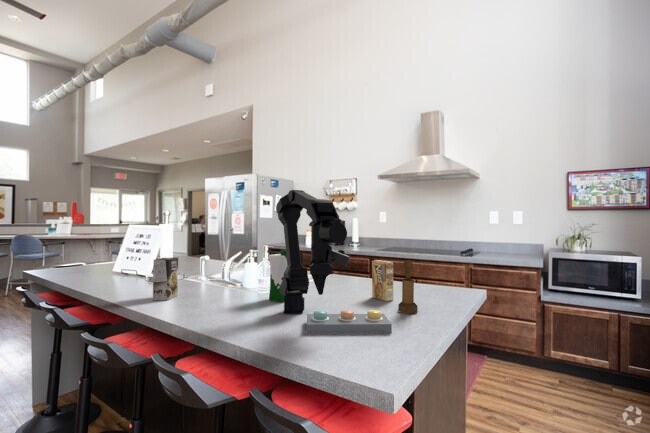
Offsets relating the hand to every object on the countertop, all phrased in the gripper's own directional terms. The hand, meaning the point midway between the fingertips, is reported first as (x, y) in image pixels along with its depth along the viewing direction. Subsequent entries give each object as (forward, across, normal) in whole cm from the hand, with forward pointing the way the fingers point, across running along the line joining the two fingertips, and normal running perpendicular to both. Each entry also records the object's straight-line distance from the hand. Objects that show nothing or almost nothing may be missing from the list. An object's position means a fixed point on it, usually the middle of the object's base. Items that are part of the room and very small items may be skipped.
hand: (320, 294), depth 103 cm
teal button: (+7, 0, 0) cm, 7 cm away
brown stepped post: (+10, +18, -31) cm, 37 cm away
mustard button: (+7, 0, -16) cm, 17 cm away
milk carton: (+10, +37, +15) cm, 41 cm away
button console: (+10, 0, -8) cm, 13 cm away
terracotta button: (+7, 0, -8) cm, 10 cm away
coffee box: (+10, +40, +62) cm, 75 cm away
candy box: (+10, +38, -26) cm, 47 cm away
